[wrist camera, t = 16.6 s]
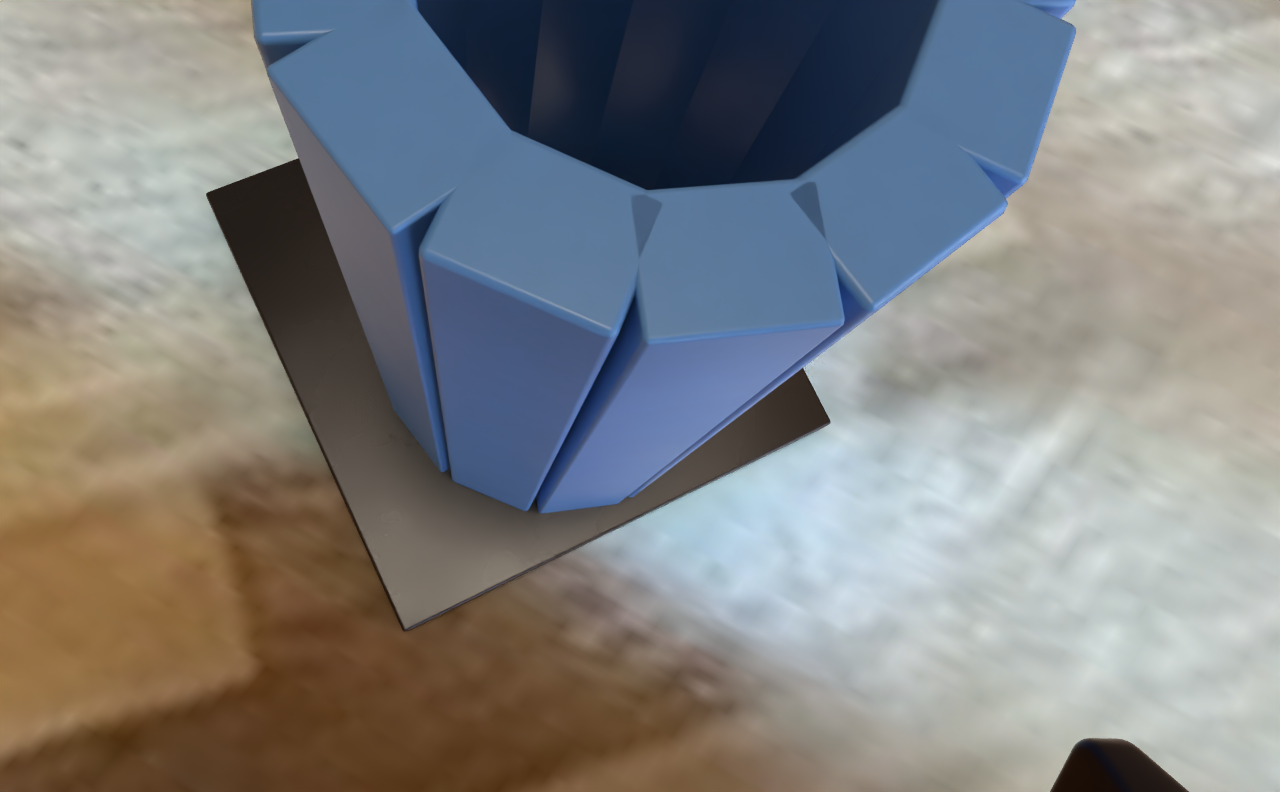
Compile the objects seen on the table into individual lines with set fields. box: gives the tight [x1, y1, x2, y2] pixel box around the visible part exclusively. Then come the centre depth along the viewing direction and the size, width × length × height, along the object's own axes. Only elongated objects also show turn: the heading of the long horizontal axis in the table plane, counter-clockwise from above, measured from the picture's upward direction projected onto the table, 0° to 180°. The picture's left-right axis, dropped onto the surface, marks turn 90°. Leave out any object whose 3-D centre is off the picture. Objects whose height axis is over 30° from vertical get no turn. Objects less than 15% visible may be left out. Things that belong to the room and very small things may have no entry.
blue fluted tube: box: [251, 0, 1076, 514], centre depth 16 cm, size 7×7×14 cm
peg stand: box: [206, 158, 830, 632], centre depth 21 cm, size 10×10×5 cm
